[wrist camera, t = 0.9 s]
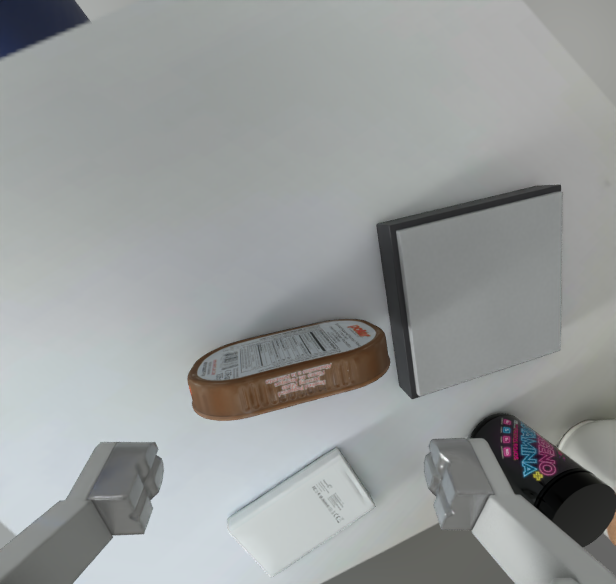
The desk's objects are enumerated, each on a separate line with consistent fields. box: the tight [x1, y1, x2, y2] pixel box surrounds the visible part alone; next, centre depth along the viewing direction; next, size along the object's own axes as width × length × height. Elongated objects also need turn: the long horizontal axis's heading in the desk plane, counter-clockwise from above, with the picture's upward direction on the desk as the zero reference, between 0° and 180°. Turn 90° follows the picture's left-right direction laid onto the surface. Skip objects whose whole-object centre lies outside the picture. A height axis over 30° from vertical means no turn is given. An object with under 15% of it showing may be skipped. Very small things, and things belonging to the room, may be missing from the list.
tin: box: [188, 319, 390, 421], centre depth 26 cm, size 15×3×8 cm, turn 98°
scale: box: [377, 185, 563, 399], centre depth 31 cm, size 16×16×3 cm
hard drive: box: [227, 447, 376, 578], centre depth 34 cm, size 2×8×12 cm
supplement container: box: [470, 413, 616, 548], centre depth 33 cm, size 7×7×10 cm
